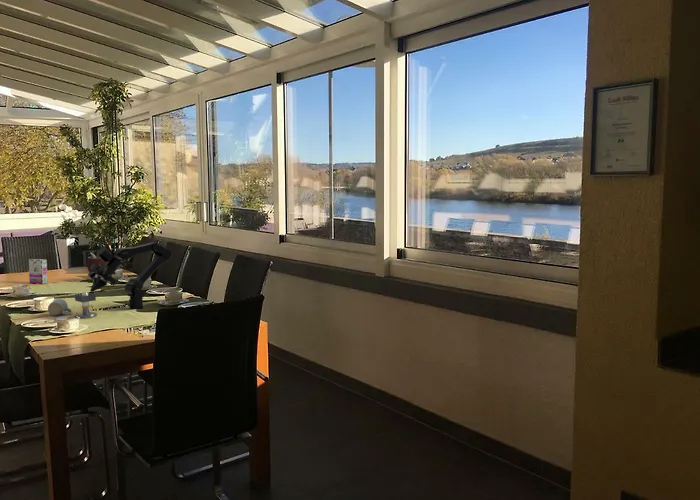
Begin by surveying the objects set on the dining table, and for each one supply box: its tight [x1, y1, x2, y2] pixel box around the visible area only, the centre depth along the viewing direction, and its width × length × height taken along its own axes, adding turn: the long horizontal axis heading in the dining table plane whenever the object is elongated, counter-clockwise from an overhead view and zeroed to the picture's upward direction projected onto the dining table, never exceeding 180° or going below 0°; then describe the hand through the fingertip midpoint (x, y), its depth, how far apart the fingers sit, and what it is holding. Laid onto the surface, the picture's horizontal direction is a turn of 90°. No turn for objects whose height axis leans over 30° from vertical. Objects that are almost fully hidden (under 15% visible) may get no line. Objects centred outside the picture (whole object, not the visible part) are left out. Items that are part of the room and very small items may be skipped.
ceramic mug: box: [47, 298, 73, 317], centre depth 305 cm, size 11×8×8 cm
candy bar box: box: [28, 258, 49, 285], centre depth 405 cm, size 11×5×16 cm, turn 73°
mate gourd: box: [86, 252, 108, 275], centre depth 415 cm, size 16×14×20 cm
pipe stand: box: [74, 291, 98, 319], centre depth 301 cm, size 10×10×12 cm
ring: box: [74, 292, 97, 303], centre depth 300 cm, size 7×7×3 cm
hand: (91, 291), depth 302 cm, fingers closed
